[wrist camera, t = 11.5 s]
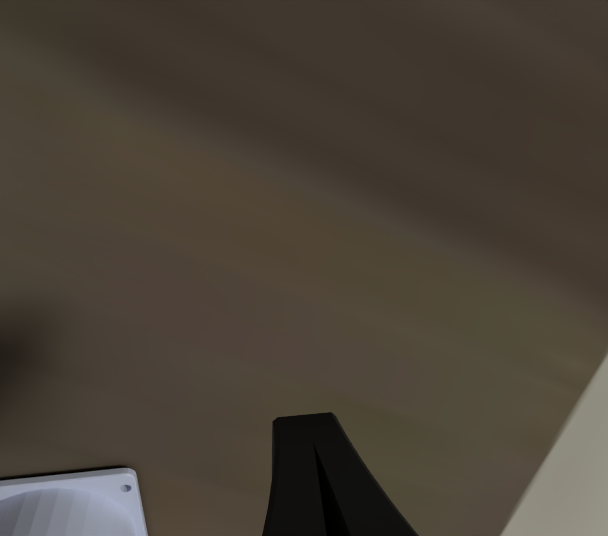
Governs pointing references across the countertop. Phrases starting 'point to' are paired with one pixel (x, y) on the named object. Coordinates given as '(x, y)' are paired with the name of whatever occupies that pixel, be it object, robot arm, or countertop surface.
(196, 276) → the countertop surface
